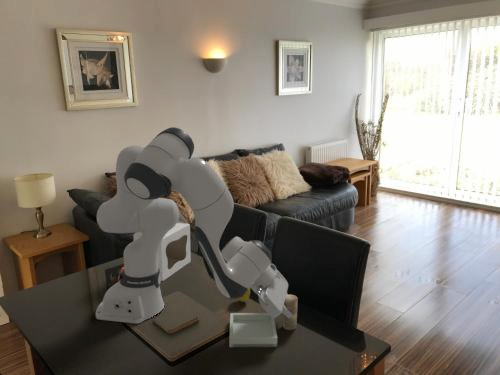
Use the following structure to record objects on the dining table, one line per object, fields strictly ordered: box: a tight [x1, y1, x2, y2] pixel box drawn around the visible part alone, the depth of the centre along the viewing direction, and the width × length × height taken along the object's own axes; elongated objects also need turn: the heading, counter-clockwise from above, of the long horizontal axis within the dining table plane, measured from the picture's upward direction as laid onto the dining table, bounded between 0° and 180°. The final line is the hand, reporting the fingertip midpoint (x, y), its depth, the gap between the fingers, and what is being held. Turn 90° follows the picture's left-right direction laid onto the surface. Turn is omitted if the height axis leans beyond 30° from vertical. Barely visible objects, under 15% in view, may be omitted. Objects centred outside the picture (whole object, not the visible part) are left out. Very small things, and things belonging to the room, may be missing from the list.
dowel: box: [282, 294, 299, 331], centre depth 129 cm, size 4×4×10 cm
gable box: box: [133, 209, 192, 282], centre depth 170 cm, size 22×13×28 cm, turn 157°
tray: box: [228, 312, 278, 348], centre depth 126 cm, size 14×14×3 cm
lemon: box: [236, 287, 251, 303], centre depth 145 cm, size 6×6×8 cm
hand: (292, 311), depth 129 cm, fingers closed on dowel, 4 cm apart
